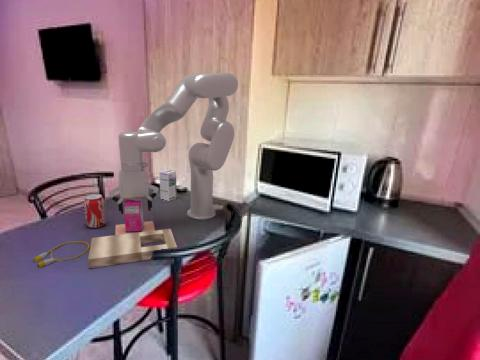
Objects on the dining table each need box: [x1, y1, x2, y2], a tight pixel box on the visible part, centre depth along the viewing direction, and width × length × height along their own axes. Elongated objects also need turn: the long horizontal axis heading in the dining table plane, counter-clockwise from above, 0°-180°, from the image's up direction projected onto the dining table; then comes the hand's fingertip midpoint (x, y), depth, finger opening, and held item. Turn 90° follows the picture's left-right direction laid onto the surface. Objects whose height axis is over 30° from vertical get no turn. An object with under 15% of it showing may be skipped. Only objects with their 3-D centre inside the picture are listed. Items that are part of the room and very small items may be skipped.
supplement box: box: [122, 198, 145, 233], centre depth 110 cm, size 6×6×12 cm
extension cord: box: [32, 240, 91, 269], centre depth 95 cm, size 12×16×2 cm
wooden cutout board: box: [87, 228, 178, 269], centre depth 98 cm, size 26×14×3 cm, turn 111°
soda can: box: [83, 193, 107, 229], centre depth 113 cm, size 7×7×12 cm
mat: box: [114, 220, 156, 235], centre depth 112 cm, size 14×12×1 cm
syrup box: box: [159, 169, 178, 202], centre depth 145 cm, size 6×6×14 cm
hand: (135, 211), depth 110 cm, fingers open, 9 cm apart
